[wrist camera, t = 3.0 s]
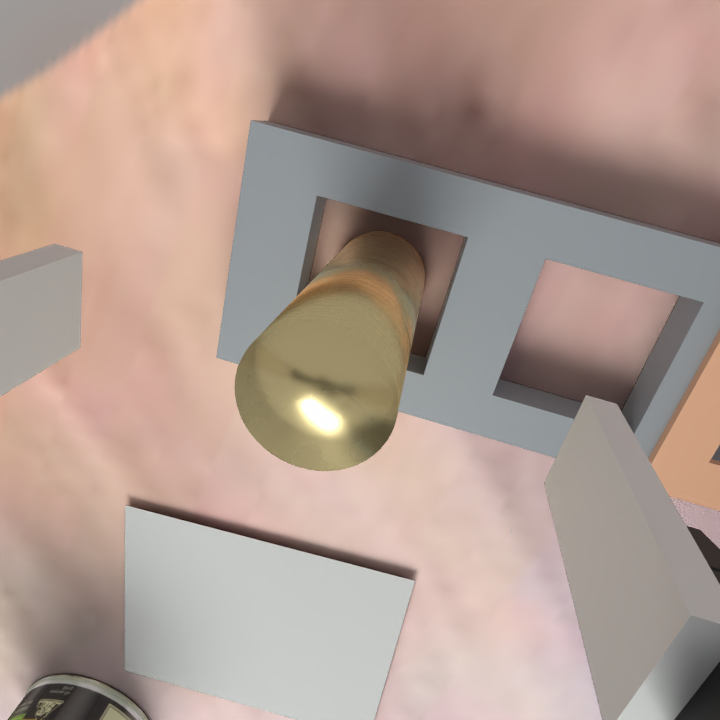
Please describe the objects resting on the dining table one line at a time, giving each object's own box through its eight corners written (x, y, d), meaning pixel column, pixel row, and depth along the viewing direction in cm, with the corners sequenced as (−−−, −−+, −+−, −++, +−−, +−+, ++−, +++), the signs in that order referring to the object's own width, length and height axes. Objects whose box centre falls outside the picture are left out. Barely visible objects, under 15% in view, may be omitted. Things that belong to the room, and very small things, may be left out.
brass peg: (436, 245, 23) (418, 349, 12) (410, 331, 25) (374, 489, 14) (345, 220, 23) (248, 299, 13) (325, 306, 25) (224, 444, 14)
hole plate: (1031, 315, 21) (1099, 337, 19) (862, 526, 25) (902, 564, 23) (269, 110, 22) (248, 108, 20) (232, 342, 27) (212, 360, 24)
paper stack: (132, 348, 28) (124, 353, 27) (631, 466, 26) (636, 475, 25) (129, 661, 37) (124, 670, 37) (495, 765, 36) (496, 777, 35)
